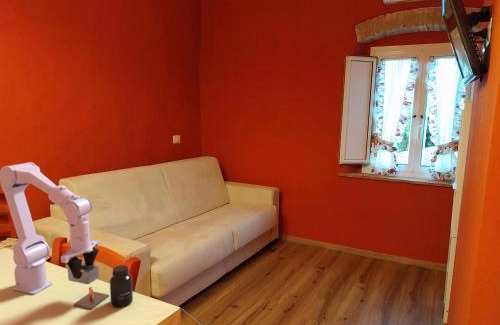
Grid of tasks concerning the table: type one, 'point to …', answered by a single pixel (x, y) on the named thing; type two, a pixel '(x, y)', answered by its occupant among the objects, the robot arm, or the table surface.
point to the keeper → (91, 299)
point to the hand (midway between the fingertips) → (83, 274)
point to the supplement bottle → (121, 287)
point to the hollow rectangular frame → (85, 274)
